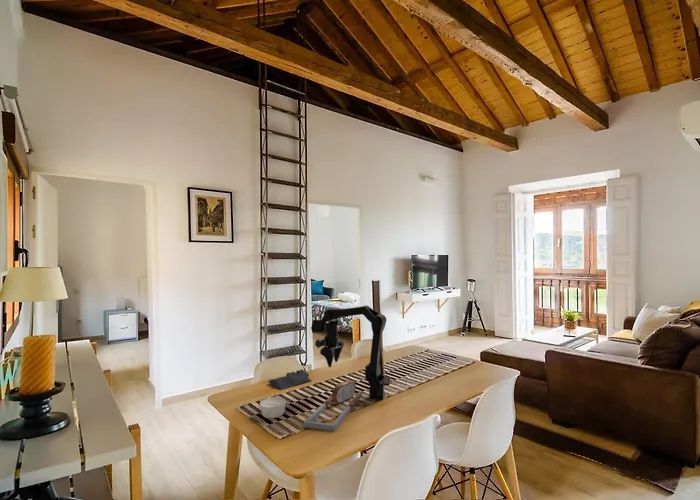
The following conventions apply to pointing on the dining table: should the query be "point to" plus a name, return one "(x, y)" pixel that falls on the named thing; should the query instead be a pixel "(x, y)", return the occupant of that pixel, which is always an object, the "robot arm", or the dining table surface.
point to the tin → (343, 391)
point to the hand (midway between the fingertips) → (333, 364)
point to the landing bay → (325, 426)
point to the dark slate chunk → (291, 380)
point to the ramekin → (273, 407)
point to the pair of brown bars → (349, 403)
